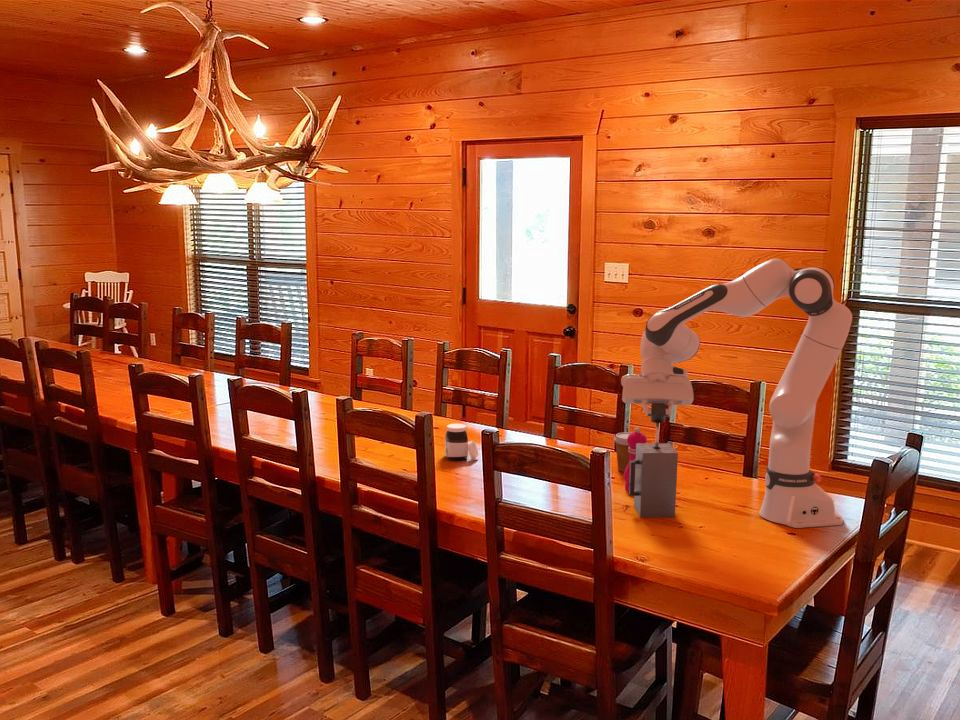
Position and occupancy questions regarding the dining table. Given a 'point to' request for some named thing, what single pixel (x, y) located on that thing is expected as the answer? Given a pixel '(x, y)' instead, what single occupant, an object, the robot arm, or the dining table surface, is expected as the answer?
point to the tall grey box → (654, 480)
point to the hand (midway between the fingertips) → (658, 415)
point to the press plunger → (657, 418)
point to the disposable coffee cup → (622, 450)
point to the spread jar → (459, 443)
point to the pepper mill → (633, 452)
